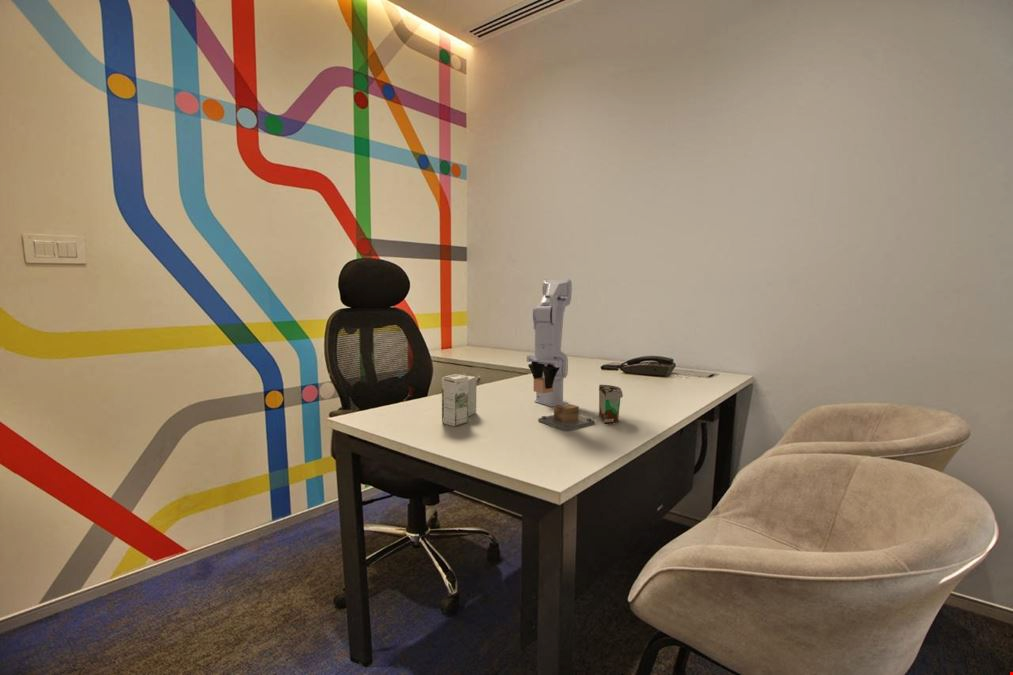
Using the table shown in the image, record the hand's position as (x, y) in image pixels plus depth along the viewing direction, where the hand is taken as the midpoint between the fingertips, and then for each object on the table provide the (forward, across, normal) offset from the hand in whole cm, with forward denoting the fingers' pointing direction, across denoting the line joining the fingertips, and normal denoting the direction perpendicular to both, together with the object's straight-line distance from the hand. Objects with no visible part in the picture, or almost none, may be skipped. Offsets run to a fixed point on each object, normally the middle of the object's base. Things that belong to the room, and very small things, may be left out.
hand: (543, 386), depth 153 cm
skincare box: (+10, -16, -18) cm, 26 cm away
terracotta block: (+1, 0, 0) cm, 1 cm away
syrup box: (+10, -10, -26) cm, 30 cm away
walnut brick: (+8, +10, +1) cm, 13 cm away
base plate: (+10, +10, +1) cm, 14 cm away
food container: (+10, +16, +14) cm, 23 cm away
